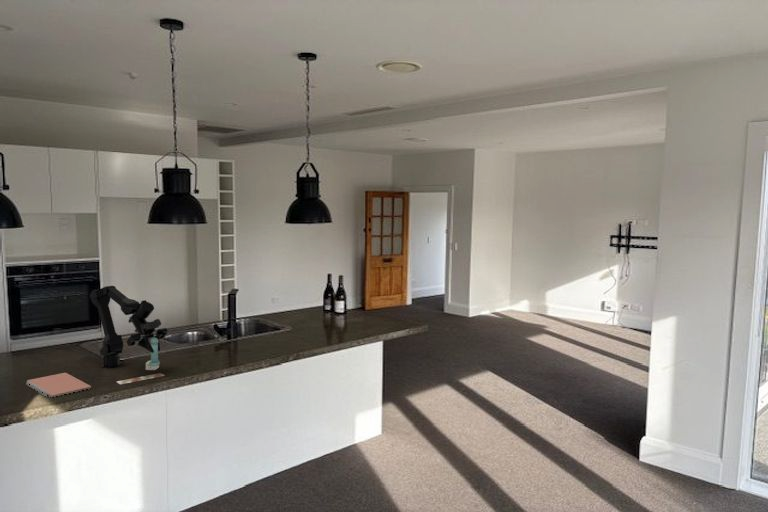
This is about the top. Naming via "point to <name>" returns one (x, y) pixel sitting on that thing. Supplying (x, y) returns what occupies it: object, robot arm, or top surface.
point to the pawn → (154, 353)
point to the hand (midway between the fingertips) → (156, 351)
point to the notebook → (57, 385)
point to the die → (151, 366)
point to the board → (140, 378)
